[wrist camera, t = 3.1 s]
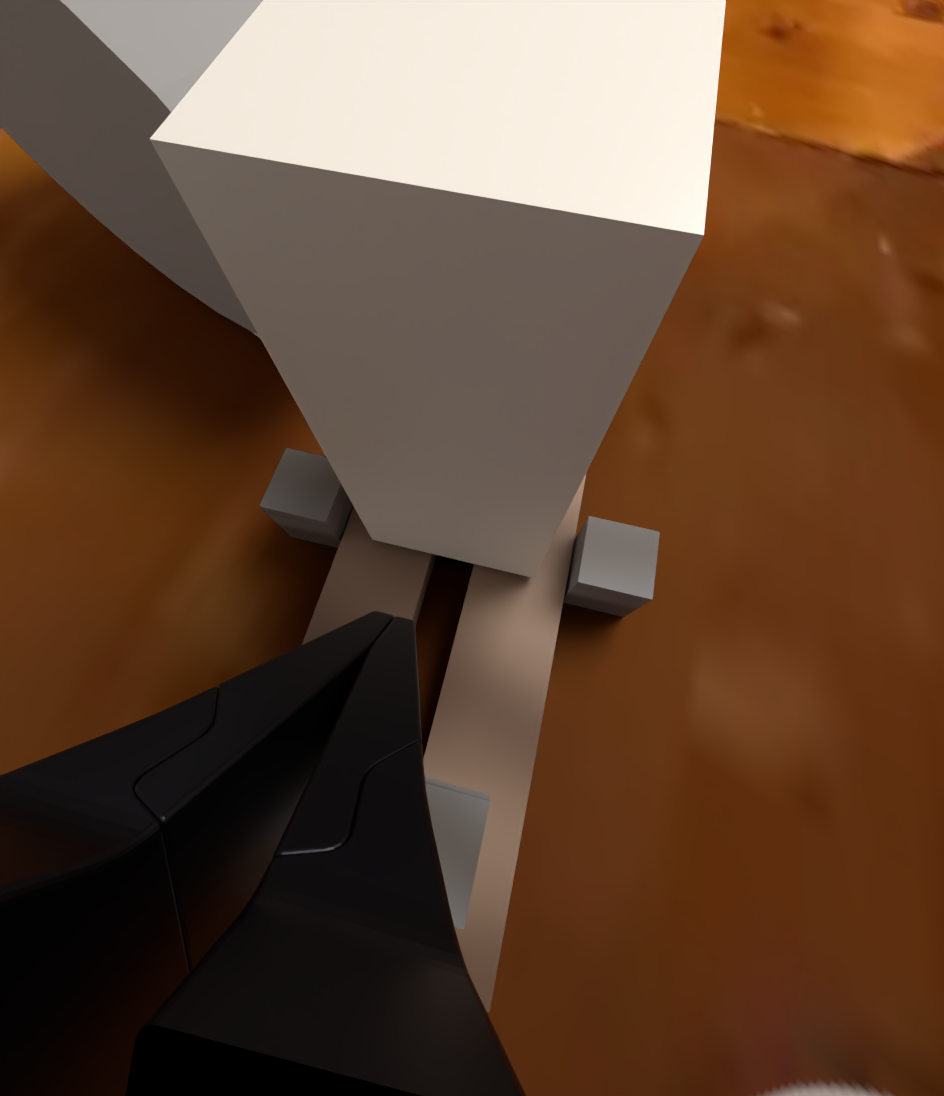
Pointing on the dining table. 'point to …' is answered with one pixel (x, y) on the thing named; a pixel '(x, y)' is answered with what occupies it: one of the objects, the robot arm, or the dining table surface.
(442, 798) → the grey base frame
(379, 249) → the block
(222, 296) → the alarm clock
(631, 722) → the dining table surface
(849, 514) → the dining table surface
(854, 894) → the dining table surface
